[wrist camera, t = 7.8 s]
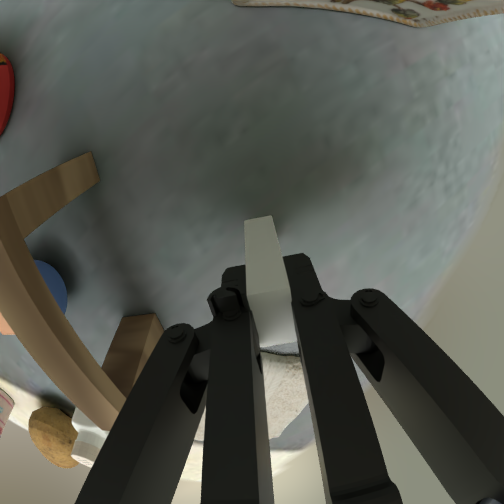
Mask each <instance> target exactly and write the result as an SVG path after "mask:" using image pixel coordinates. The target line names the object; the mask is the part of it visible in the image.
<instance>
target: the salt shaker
mask: <svg viewBox="0 0 504 504" xmlns="http://www.w3.org/2000/svg"><path fill="white" fill-rule="evenodd" d="M72 425H73V426H74V428H75V429H76V431H77V432H78V436H77V439H76V440H75V442H74V446H73V450H72V453H71V457H72V458H73V459H75V460H76V461H78V462H80V463H82V464H84V465H86V466H89V467H92V466H93V464H94V462H95V460H96V458H97V456H98V454H99V452H100V450H101V448H102V446H103V444H104V442H105V440H106V438H107V436H108V434H109V432H110V431H104V430H101V429H100V428H99V427H98V426H97V425H95V424H94V423H93V422H92V421H91V420H90V419H89V418H88V417H87V416H86V415H85V414H84V413H83V412H82V411H81V410H79V409H78V408H77V407H76V409H75V412H74V414H73V417H72Z"/></svg>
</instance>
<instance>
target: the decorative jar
mask: <svg viewBox="0 0 504 504" xmlns="http://www.w3.org/2000/svg"><path fill="white" fill-rule="evenodd" d="M231 1H232V3H233V4H234V5H237V6H298V7H308V8H322V9H328V10H336V11H343V12H350V13H356V14H362V15H367V16H373V17H378V18H382V19H387V20H391V21H395V22H399V23H402V24H406V25H410V26H413V27H419V28H422V27H428V26H434V25H437V24H442V23H447V22H452V21H457V20H462V19H467V18H472V17H481V16H487V15H493V14H500V13H504V0H231Z"/></svg>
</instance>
